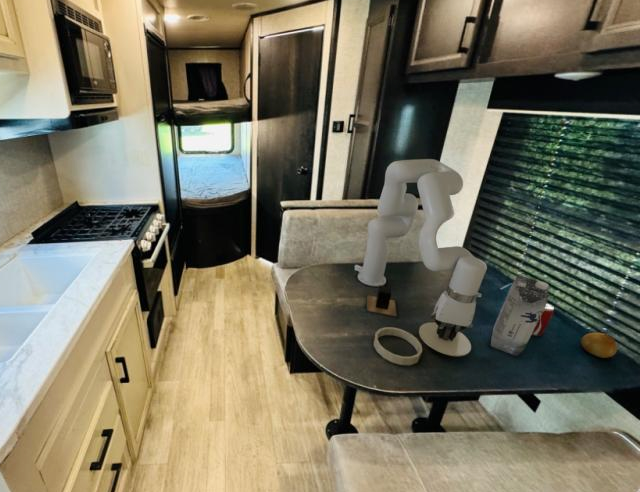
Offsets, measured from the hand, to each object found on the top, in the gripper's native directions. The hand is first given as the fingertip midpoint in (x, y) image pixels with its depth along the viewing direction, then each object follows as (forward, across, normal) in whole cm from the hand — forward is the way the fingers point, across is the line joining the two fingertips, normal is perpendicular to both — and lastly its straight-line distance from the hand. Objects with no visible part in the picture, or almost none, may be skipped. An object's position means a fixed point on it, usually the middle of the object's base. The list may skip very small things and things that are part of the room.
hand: (444, 336), depth 108 cm
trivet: (+5, +19, -16) cm, 26 cm away
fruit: (+4, -48, -15) cm, 51 cm away
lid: (+1, 0, 0) cm, 1 cm away
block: (+4, +19, -16) cm, 26 cm away
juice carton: (+4, -21, -8) cm, 22 cm away
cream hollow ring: (+4, +15, +8) cm, 17 cm away
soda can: (+4, -33, -20) cm, 39 cm away
